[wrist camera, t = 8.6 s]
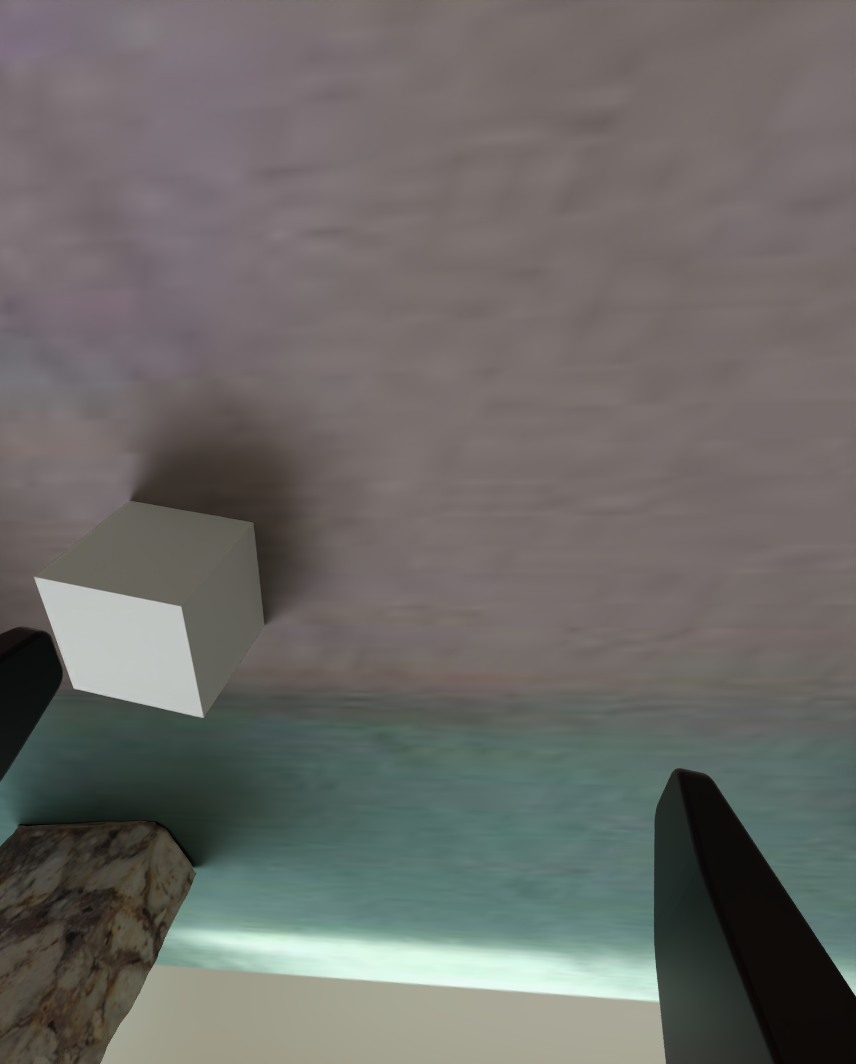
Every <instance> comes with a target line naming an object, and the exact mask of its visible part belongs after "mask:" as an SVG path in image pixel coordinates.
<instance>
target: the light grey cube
mask: <svg viewBox="0 0 856 1064" xmlns="http://www.w3.org/2000/svg"><path fill="white" fill-rule="evenodd" d="M34 578H35V581H36V584H37V587H38V589H39V592H40V595H41V598H42V601H43V603H44V606H45V609H46V612H47V615H48V617H49V620H50V623H51V626H52V629H53V631H54V634H55V637H56V640H57V643H58V645H59V648H60V651H61V654H62V657H63V659H64V662H65V665H66V668H67V671H68V673H69V676H70V679H71V682H72V685H73V688H74V689H78V690H83V691H87V692H91V693H96V694H100V695H105V696H109V697H113V698H118V699H122V700H127V701H131V702H135V703H140V704H144V705H149V706H153V707H157V708H162V709H166V710H171V711H175V712H179V713H184V714H188V715H193V716H197V717H201V718H204V717H205V715H206V714H207V712H208V711H209V709H210V708H211V706H212V704H213V703H214V701H215V700H216V698H217V697H218V695H219V694H220V692H221V691H222V689H223V688H224V686H225V685H226V683H227V682H228V680H229V679H230V677H231V676H232V674H233V673H234V671H235V669H236V668H237V666H238V665H239V663H240V662H241V660H242V659H243V657H244V656H245V654H246V653H247V651H248V650H249V648H250V647H251V645H252V644H253V642H254V641H255V639H256V638H257V636H258V635H259V633H260V631H261V630H262V628H263V627H264V616H263V607H262V597H261V588H260V579H259V569H258V560H257V551H256V541H255V532H254V523H253V522H248V521H242V520H236V519H231V518H225V517H220V516H214V515H208V514H203V513H197V512H191V511H186V510H180V509H174V508H169V507H163V506H157V505H152V504H146V503H140V502H135V501H128V502H127V503H126V504H125V505H123V506H122V507H121V508H120V509H118V510H117V511H116V512H115V513H113V514H112V515H111V516H110V517H108V518H107V519H106V520H105V521H103V522H102V523H101V524H100V525H98V526H97V527H96V528H95V529H93V530H92V531H91V532H90V533H88V534H87V535H86V536H85V537H83V538H82V539H81V540H80V541H78V542H77V543H76V544H75V545H73V546H72V547H71V548H70V549H68V550H67V551H66V552H65V553H63V554H62V555H61V556H60V557H58V558H57V559H56V560H55V561H53V562H52V563H51V564H50V565H48V566H47V567H46V568H45V569H43V570H42V571H41V572H40V573H38V574H37V575H36V576H35V577H34Z"/></svg>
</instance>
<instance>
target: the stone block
mask: <svg viewBox="0 0 856 1064" xmlns="http://www.w3.org/2000/svg"><path fill="white" fill-rule="evenodd" d="M195 875H196V873H195V872H194V870H193V868H192V865H191V863H190V862H189V860H188V859H187V857H186V856H185V855H184V853H183V852H182V851H181V849H180V848H179V846H178V845H177V844H176V842H175V841H174V840H173V838H172V837H171V835H170V833H169V832H168V831H167V830H166V829H165V828H164V827H161V826H159V825H157V824H155V822H148V821H127V822H87V823H75V824H59V825H37V826H21V825H18V828H17V829H16V830H15V832H14V833H13V834H12V835H11V836H10V837H9V838H8V839H7V840H6V841H5V842H4V843H3V844H2V845H1V846H0V1064H100V1063H101V1061H102V1058H103V1056H104V1054H105V1051H106V1048H107V1046H108V1044H109V1042H110V1040H111V1039H112V1037H113V1035H114V1034H115V1032H116V1030H117V1028H118V1026H119V1025H120V1023H121V1022H122V1020H123V1019H124V1018H125V1016H126V1015H127V1014H128V1013H129V1011H130V1009H131V1008H132V1006H133V1004H134V1002H135V1000H136V998H137V996H138V994H139V993H140V991H141V988H142V986H143V984H144V982H145V980H146V977H147V975H148V973H149V971H150V970H151V968H152V966H153V965H154V963H155V961H156V959H157V957H158V953H159V951H160V949H161V947H162V945H163V942H164V939H165V937H166V935H167V932H168V930H169V928H170V926H171V924H172V922H173V920H174V918H175V916H176V914H177V912H178V910H179V908H180V906H181V905H182V903H183V901H184V900H185V898H186V896H187V894H188V892H189V890H190V887H191V885H192V883H193V879H194V877H195Z"/></svg>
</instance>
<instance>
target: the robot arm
mask: <svg viewBox="0 0 856 1064" xmlns="http://www.w3.org/2000/svg"><path fill="white" fill-rule="evenodd" d="M62 679H63V668H62V665H61V662H60V659H59V656H58V654H57V651H56V648H55V645H54V642H53V640H52V637H51V636H50V634H48V633H47V632H46V631H43V630H38V629H34V628H29V627H17V628H14V629H11V630H9V631H7V632H4V633H2V634H0V781H1V780H2V779H3V777H4V776H5V774H6V773H7V771H8V769H9V768H10V766H11V765H12V763H13V762H14V760H15V758H16V757H17V755H18V754H19V752H20V750H21V749H22V747H23V745H24V744H25V742H26V741H27V739H28V737H29V736H30V734H31V732H32V731H33V729H34V728H35V726H36V724H37V723H38V721H39V719H40V718H41V716H42V715H43V713H44V711H45V710H46V708H47V706H48V705H49V703H50V701H51V700H52V698H53V697H54V695H55V693H56V692H57V690H58V688H59V687H60V685H61V682H62ZM654 946H655V959H656V971H657V981H658V990H659V1000H660V1009H661V1019H662V1029H663V1039H664V1048H665V1057H666V1064H856V996H855V995H854V993H853V992H852V990H851V989H850V987H849V986H848V984H847V982H846V981H845V979H844V978H843V976H842V975H841V973H840V972H839V970H838V969H837V967H836V966H835V964H834V963H833V961H832V960H831V958H830V957H829V955H828V954H827V952H826V951H825V949H824V948H823V946H822V945H821V943H820V942H819V940H818V939H817V937H816V936H815V934H814V932H813V931H812V929H811V928H810V926H809V925H808V923H807V922H806V920H805V919H804V917H803V916H802V914H801V913H800V911H799V910H798V908H797V907H796V905H795V904H794V902H793V901H792V899H791V898H790V896H789V895H788V893H787V892H786V890H785V889H784V887H783V886H782V884H781V882H780V881H779V879H778V878H777V876H776V875H775V873H774V872H773V870H772V869H771V867H770V866H769V864H768V863H767V861H766V860H765V858H764V857H763V855H762V854H761V852H760V851H759V849H758V848H757V846H756V845H755V843H754V842H753V840H752V839H751V837H750V836H749V834H748V832H747V831H746V829H745V828H744V826H743V825H742V823H741V822H740V820H739V819H738V817H737V816H736V814H735V813H734V811H733V810H732V808H731V807H730V805H729V804H728V802H727V801H726V799H725V798H724V796H723V795H722V793H721V792H720V790H719V789H718V787H717V786H716V784H715V782H714V781H713V780H712V779H711V778H710V777H709V776H708V775H706V774H704V773H700V772H695V771H691V770H686V769H682V768H677V769H675V770H674V771H673V772H672V774H671V776H670V778H669V780H668V782H667V785H666V787H665V789H664V791H663V793H662V796H661V798H660V800H659V802H658V805H657V808H656V813H655V844H654Z"/></svg>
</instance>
